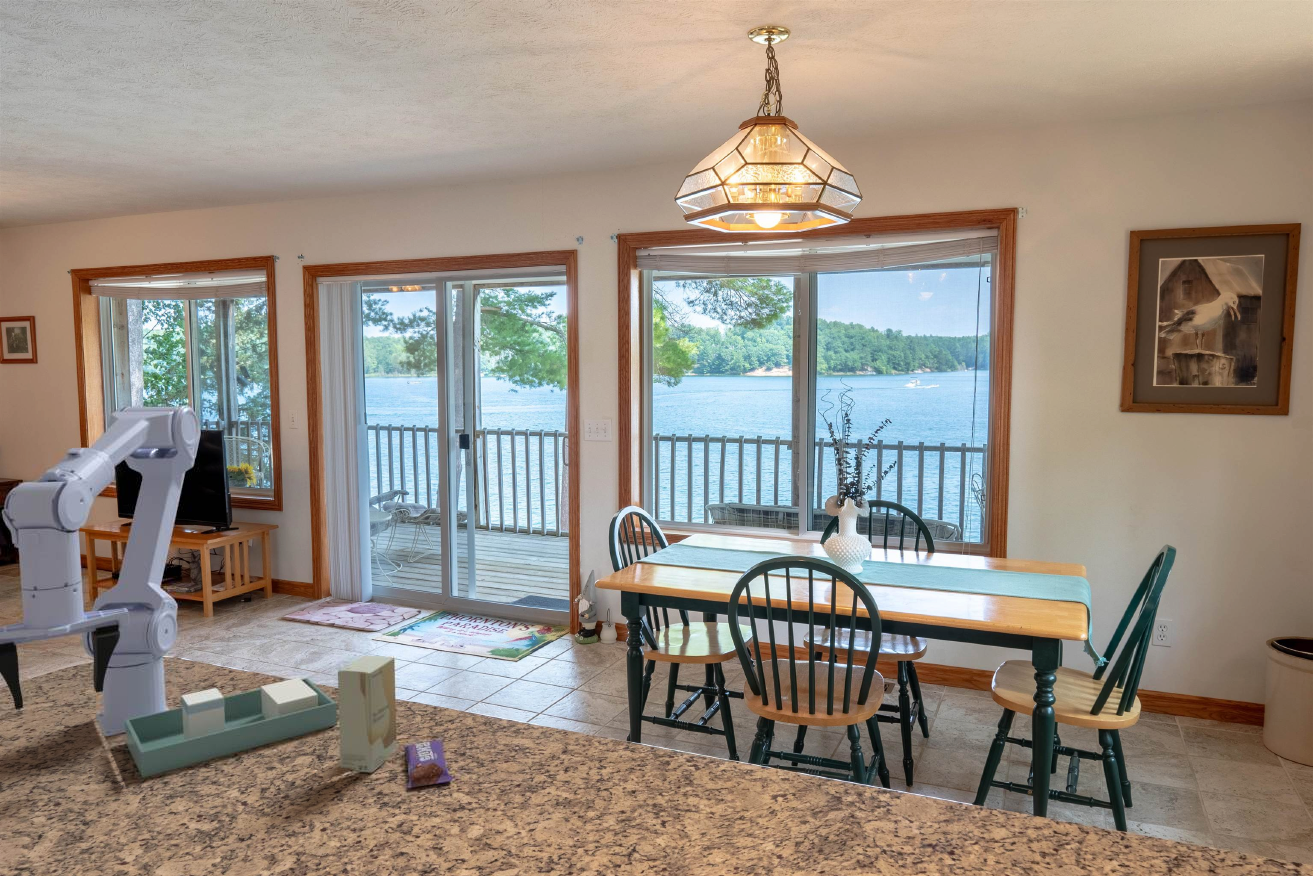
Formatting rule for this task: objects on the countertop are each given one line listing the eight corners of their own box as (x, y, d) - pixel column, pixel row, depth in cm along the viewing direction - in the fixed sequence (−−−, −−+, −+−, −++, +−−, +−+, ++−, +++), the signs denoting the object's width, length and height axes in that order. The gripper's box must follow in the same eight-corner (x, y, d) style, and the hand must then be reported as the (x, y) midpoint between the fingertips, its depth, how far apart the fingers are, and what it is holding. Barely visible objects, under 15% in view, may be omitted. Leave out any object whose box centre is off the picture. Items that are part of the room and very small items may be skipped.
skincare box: (372, 774, 100) (368, 673, 99) (338, 771, 101) (335, 671, 100) (399, 750, 106) (396, 655, 105) (367, 747, 107) (364, 653, 106)
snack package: (402, 738, 106) (442, 732, 108) (402, 753, 107) (443, 747, 108) (407, 780, 96) (452, 772, 97) (407, 796, 96) (452, 789, 97)
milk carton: (183, 741, 108) (180, 695, 107) (218, 732, 110) (216, 687, 110) (190, 752, 105) (187, 705, 104) (226, 742, 107) (224, 697, 107)
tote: (126, 746, 107) (124, 720, 107) (307, 701, 122) (307, 677, 121) (142, 781, 98) (141, 752, 98) (337, 728, 113) (336, 702, 112)
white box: (262, 714, 116) (260, 686, 116) (299, 705, 119) (298, 677, 119) (279, 733, 110) (278, 704, 109) (318, 723, 113) (317, 694, 113)
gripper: (-28, 602, 90) (-19, 725, 92) (130, 580, 100) (137, 692, 101) (-29, 589, 96) (-20, 705, 97) (121, 569, 105) (127, 675, 106)
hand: (59, 697), depth 99 cm, fingers open, 7 cm apart
